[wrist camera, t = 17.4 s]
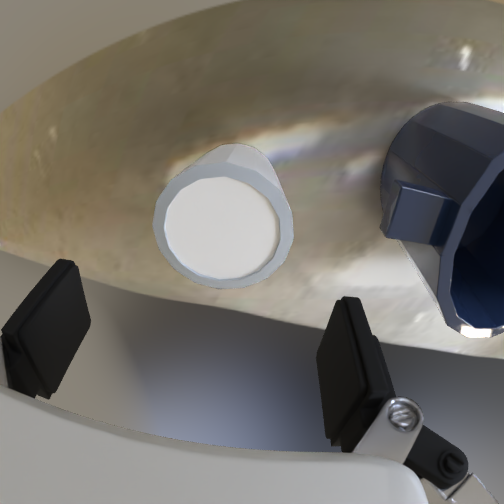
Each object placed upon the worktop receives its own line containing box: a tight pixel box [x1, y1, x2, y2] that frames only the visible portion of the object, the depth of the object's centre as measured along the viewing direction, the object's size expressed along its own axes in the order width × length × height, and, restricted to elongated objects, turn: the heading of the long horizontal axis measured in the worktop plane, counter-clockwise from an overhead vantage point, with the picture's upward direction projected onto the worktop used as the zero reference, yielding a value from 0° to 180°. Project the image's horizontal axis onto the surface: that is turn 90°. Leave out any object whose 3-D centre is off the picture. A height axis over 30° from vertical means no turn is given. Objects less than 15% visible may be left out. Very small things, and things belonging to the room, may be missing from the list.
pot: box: [380, 102, 504, 338], centre depth 16 cm, size 13×18×10 cm
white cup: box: [152, 143, 294, 289], centre depth 18 cm, size 7×7×7 cm
